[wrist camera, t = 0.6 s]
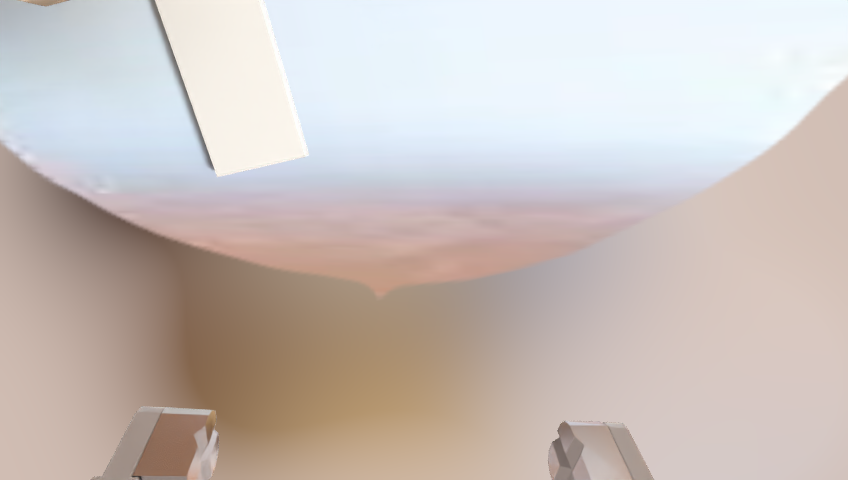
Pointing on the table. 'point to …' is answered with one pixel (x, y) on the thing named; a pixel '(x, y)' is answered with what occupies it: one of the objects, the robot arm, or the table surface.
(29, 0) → the tall wooden pillar
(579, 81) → the table surface
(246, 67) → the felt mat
